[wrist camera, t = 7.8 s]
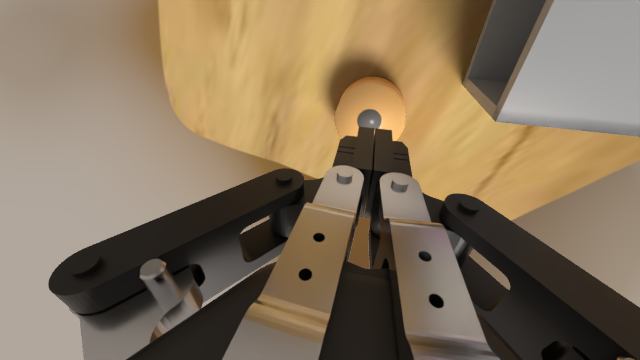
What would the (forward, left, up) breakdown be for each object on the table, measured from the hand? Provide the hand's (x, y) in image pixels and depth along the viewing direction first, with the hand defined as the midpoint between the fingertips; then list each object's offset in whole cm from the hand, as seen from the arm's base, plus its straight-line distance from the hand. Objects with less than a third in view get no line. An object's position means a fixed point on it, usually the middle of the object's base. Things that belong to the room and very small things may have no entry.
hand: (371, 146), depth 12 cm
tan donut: (0, +4, -17) cm, 17 cm away
